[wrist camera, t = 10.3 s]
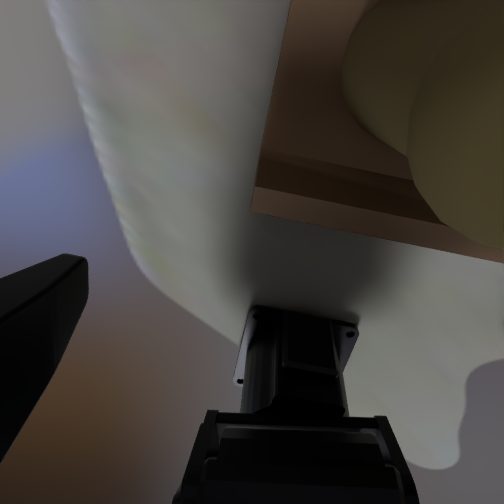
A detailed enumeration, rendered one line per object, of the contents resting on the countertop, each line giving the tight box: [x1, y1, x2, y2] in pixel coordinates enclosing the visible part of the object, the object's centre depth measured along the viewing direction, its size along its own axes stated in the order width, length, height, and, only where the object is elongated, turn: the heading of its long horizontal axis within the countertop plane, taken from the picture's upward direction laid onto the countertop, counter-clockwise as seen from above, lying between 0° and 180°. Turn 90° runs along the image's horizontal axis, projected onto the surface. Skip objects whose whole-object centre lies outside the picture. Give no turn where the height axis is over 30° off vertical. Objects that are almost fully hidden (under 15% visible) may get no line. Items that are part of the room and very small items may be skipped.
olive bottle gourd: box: [341, 0, 504, 250], centre depth 12 cm, size 6×6×11 cm
